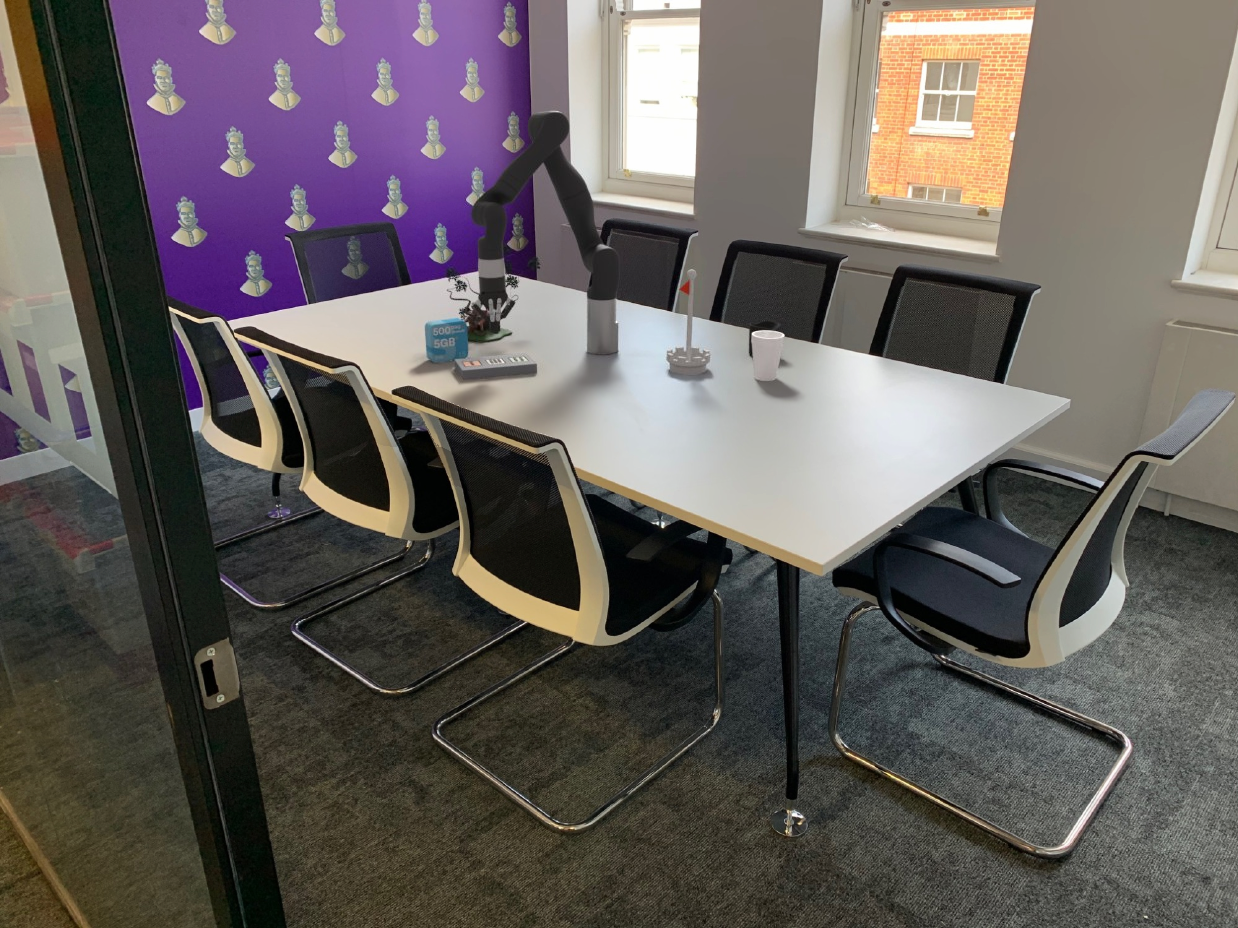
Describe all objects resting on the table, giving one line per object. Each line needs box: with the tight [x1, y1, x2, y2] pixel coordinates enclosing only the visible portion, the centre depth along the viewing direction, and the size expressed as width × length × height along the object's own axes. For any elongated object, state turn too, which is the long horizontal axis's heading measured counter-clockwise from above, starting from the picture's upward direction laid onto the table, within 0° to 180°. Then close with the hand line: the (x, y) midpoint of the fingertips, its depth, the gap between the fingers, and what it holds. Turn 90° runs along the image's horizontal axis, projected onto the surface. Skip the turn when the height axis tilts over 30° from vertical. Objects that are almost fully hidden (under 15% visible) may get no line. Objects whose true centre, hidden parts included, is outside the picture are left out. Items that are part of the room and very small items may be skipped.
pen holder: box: [748, 320, 781, 357], centre depth 297 cm, size 9×9×10 cm
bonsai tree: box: [445, 241, 541, 343], centre depth 312 cm, size 35×24×32 cm
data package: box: [424, 317, 469, 364], centre depth 289 cm, size 12×4×12 cm, turn 123°
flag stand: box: [666, 268, 711, 376], centre depth 278 cm, size 13×13×30 cm
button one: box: [463, 361, 481, 367], centre depth 277 cm, size 5×5×3 cm
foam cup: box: [751, 330, 785, 382], centre depth 274 cm, size 10×9×13 cm
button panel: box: [454, 352, 538, 381], centre depth 279 cm, size 22×12×3 cm, turn 110°
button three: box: [486, 359, 505, 365], centre depth 279 cm, size 5×5×3 cm
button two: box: [509, 357, 528, 362], centre depth 282 cm, size 5×5×3 cm
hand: (495, 333), depth 275 cm, fingers closed
